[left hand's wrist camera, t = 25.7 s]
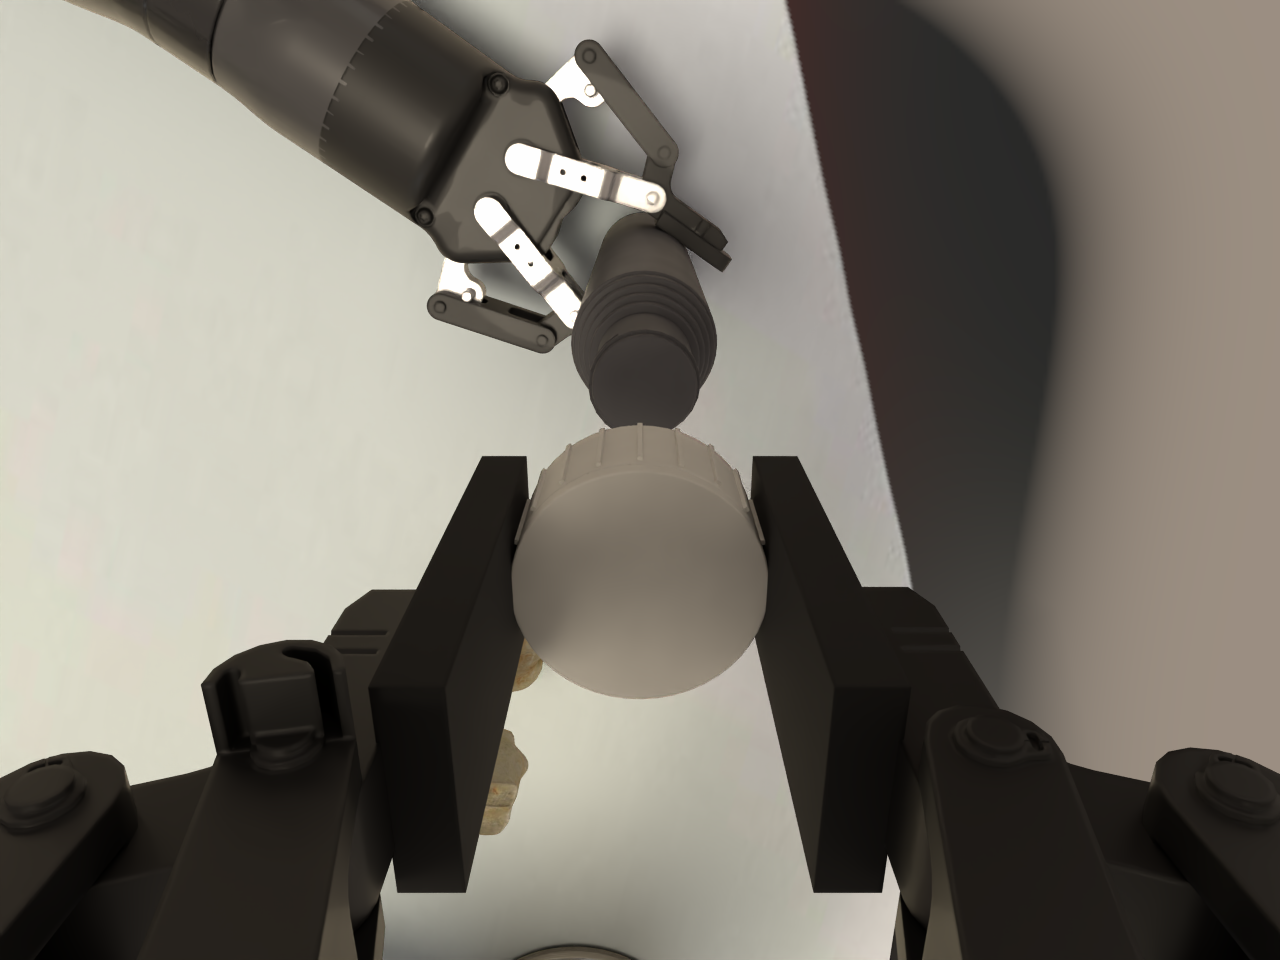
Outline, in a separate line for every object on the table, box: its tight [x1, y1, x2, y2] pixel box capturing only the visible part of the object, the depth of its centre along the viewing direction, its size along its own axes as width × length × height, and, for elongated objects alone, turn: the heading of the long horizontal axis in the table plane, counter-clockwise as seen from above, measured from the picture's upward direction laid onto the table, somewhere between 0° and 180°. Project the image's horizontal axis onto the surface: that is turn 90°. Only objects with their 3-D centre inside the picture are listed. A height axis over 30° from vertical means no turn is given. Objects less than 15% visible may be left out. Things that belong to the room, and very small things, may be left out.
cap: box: [511, 423, 768, 699], centre depth 14 cm, size 4×4×2 cm
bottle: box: [571, 213, 717, 429], centre depth 33 cm, size 4×4×24 cm
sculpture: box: [479, 637, 543, 835], centre depth 46 cm, size 6×7×15 cm
